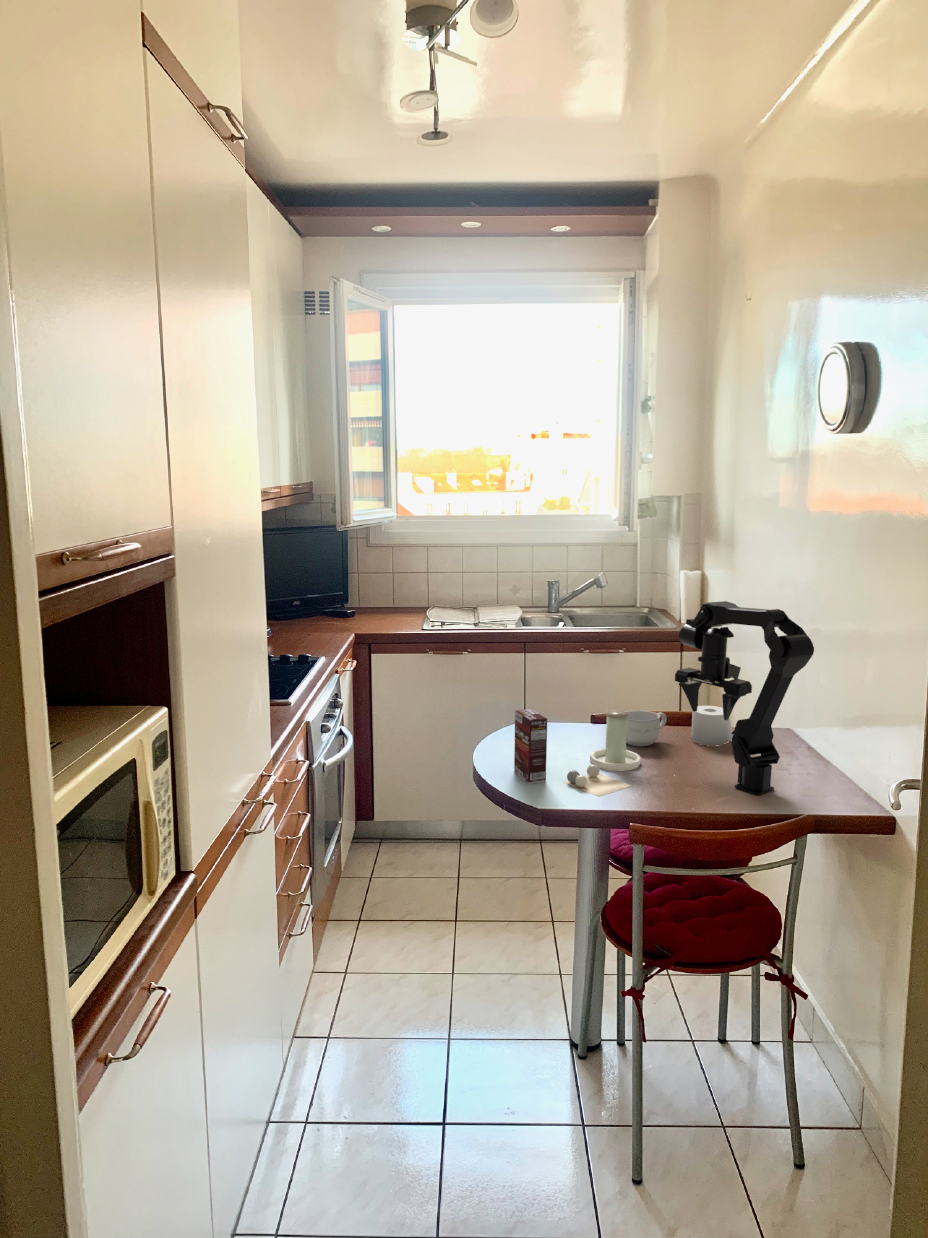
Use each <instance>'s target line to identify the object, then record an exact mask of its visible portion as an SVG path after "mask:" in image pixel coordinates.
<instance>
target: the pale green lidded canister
mask: <svg viewBox="0 0 928 1238" xmlns="http://www.w3.org/2000/svg"><path fill="white" fill-rule="evenodd" d="M605 715H606V729H605V730H606V731H605V749H606V751H605V762H609V763H625V762H626V750H627V742H626V739H627V717H628V712H627V711H625V710H620V709H612V710H611V709H609V710H607V711H606V712H605Z"/></svg>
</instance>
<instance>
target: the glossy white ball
mask: <svg viewBox="0 0 928 1238" xmlns="http://www.w3.org/2000/svg"><path fill="white" fill-rule="evenodd" d="M586 773H587V775H589V776H590V777H597V776H598V775H599V774H600V773H601V772H600V768H598V766H596V765H593V764H590V765H588V767H586Z"/></svg>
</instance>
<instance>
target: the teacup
mask: <svg viewBox="0 0 928 1238" xmlns="http://www.w3.org/2000/svg"><path fill="white" fill-rule="evenodd" d="M626 712H628V717H627V739H626V744H628V745H630V746H633V747H647V746H651V745H652V744H654V742H656V741H658V739H659V738H660V732H661V729H663V727H664V726H665V725H666V724H667V715H666V714H665V713H663V712H661V711H659V712H654V711H649V710H627V711H626Z"/></svg>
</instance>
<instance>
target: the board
mask: <svg viewBox="0 0 928 1238" xmlns="http://www.w3.org/2000/svg"><path fill="white" fill-rule="evenodd" d="M584 776H585V777H586V778H587V785H586V786H585V787H582V788H581V787H578V786H577V785H576V783H571V782H569V781H568V780H567V781H565V782H563V783H564V784H566V785H569V786H572V787H574V788H576V789H579V790H582V791H584V792H586V793H588V794H590V795H591V794H592V795H594V796H596V797H598V798H600V797H603V796H606V795H608V794H611V793H614V792H615V793H616V792H618V791H621V790H624V789H629V788H630V787H632V785H631V784H628V783H626V782H623V781H620V780H618V779H615V778H612V777H610V776H607V775H604V774H601V773H599V775H598V776H597V777H590V776H589V775H588V774H587V775H584Z"/></svg>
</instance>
